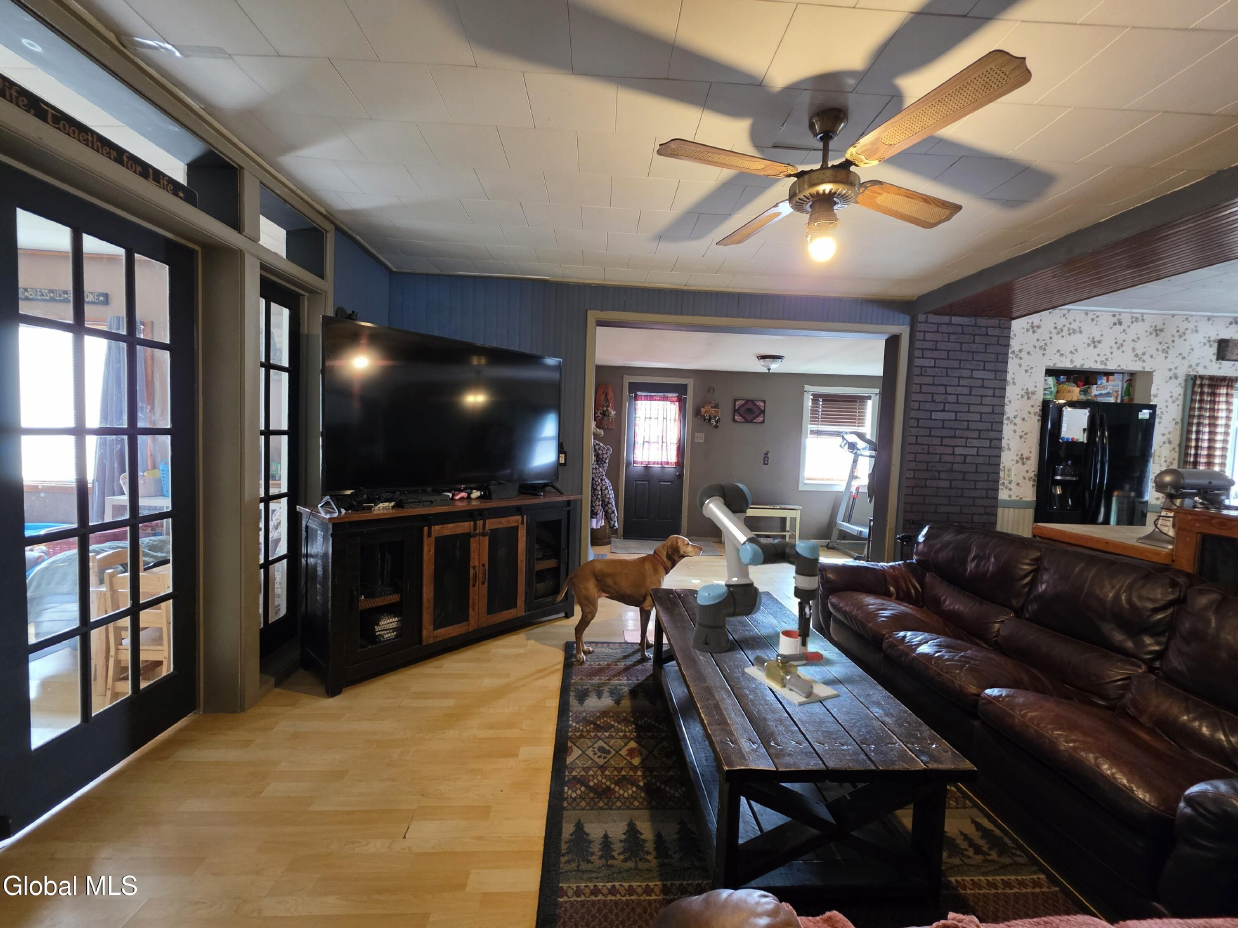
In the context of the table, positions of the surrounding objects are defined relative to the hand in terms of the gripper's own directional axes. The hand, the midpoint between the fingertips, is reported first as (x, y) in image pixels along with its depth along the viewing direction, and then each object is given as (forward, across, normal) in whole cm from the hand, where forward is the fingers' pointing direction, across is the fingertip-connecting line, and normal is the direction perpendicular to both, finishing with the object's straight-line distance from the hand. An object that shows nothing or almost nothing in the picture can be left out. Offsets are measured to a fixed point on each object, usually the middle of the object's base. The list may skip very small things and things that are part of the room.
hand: (802, 654), depth 182 cm
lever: (+1, +4, -2) cm, 4 cm away
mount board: (+9, +4, -5) cm, 11 cm away
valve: (+9, +6, -7) cm, 13 cm away
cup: (+9, -15, -1) cm, 18 cm away
